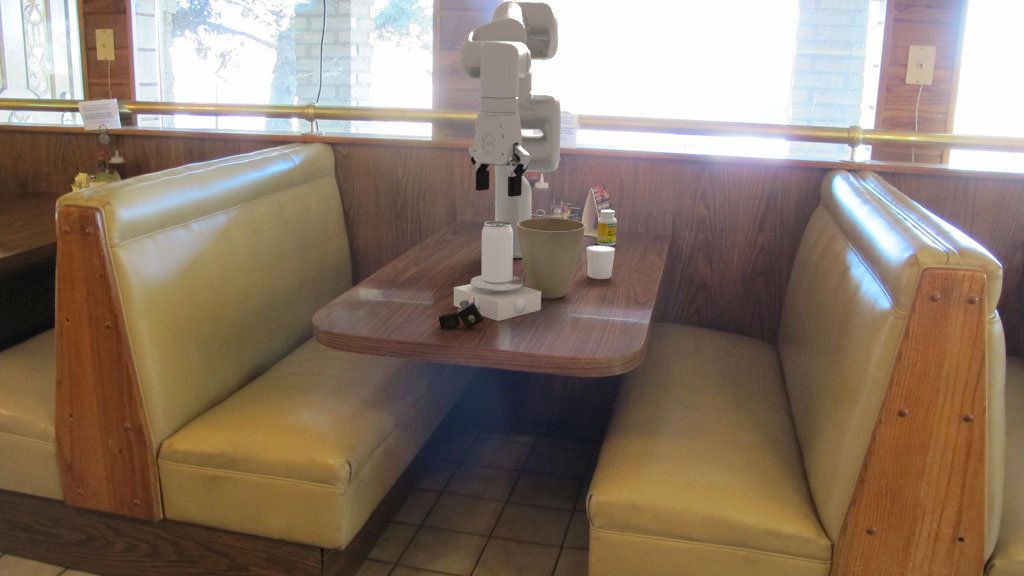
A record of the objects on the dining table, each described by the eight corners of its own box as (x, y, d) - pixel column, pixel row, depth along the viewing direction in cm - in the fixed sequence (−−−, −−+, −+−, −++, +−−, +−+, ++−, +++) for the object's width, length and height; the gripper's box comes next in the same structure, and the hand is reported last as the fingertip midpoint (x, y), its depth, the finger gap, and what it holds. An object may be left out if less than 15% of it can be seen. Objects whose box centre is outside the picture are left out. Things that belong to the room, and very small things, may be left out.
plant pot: (503, 290, 191) (504, 220, 186) (558, 282, 198) (560, 215, 194) (538, 307, 178) (540, 233, 174) (595, 298, 185) (598, 227, 181)
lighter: (448, 341, 163) (434, 320, 162) (449, 338, 165) (435, 316, 164) (483, 321, 162) (468, 299, 160) (484, 318, 164) (469, 296, 162)
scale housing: (452, 306, 178) (452, 287, 177) (496, 295, 186) (496, 278, 185) (497, 321, 168) (497, 302, 167) (541, 310, 176) (542, 291, 175)
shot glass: (612, 280, 200) (613, 251, 199) (583, 278, 202) (584, 250, 200) (614, 273, 207) (616, 245, 205) (587, 271, 208) (588, 244, 206)
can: (480, 276, 179) (480, 220, 175) (511, 276, 179) (511, 220, 176) (482, 284, 172) (482, 226, 169) (513, 284, 173) (514, 226, 170)
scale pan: (460, 288, 176) (460, 279, 176) (499, 279, 184) (499, 271, 183) (495, 299, 169) (495, 290, 168) (534, 289, 176) (534, 281, 175)
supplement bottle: (605, 241, 243) (606, 208, 241) (619, 244, 240) (621, 210, 237) (593, 243, 240) (594, 210, 237) (607, 246, 236) (609, 213, 233)
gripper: (456, 105, 170) (456, 189, 174) (515, 109, 158) (513, 200, 162) (484, 104, 175) (484, 186, 179) (543, 108, 163) (541, 196, 167)
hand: (498, 193), depth 171 cm, fingers open, 9 cm apart
